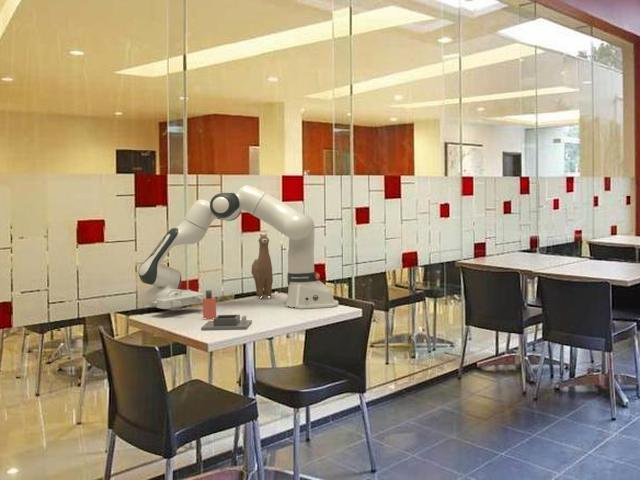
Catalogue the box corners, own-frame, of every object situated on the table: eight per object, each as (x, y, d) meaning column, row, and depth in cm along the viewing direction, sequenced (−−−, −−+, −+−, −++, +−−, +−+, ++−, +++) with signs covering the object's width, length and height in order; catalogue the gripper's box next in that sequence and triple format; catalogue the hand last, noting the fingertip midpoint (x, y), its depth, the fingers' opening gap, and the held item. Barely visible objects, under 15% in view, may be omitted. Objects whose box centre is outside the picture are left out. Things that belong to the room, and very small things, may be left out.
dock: (251, 322, 227) (251, 313, 227) (246, 329, 215) (246, 319, 215) (209, 323, 228) (208, 314, 228) (201, 330, 216) (200, 320, 216)
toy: (257, 301, 277) (255, 234, 275) (251, 295, 297) (249, 233, 295) (276, 299, 279) (274, 234, 277) (270, 293, 299) (267, 232, 297)
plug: (210, 317, 240) (209, 289, 240) (216, 318, 238) (215, 290, 237) (203, 319, 238) (202, 290, 237) (208, 320, 235) (207, 291, 235)
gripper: (149, 295, 247) (169, 297, 238) (191, 288, 262) (211, 291, 253) (150, 310, 247) (170, 314, 238) (192, 303, 262) (212, 306, 253)
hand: (191, 302), depth 245 cm, fingers open, 8 cm apart
